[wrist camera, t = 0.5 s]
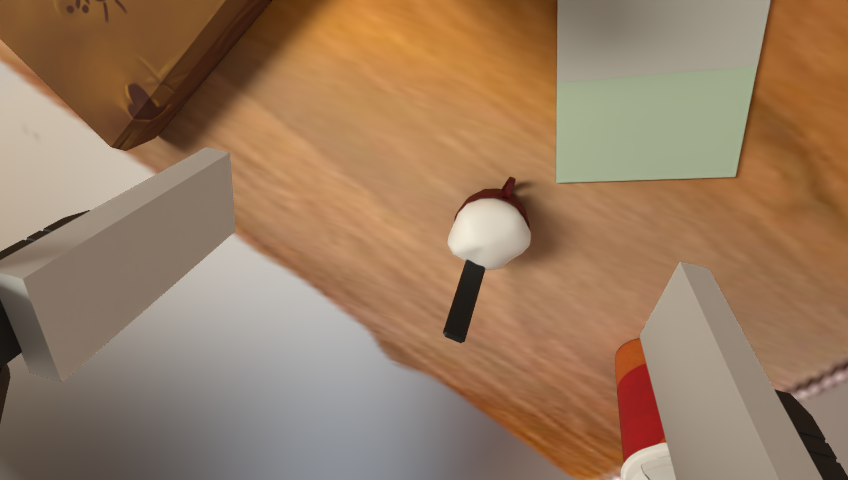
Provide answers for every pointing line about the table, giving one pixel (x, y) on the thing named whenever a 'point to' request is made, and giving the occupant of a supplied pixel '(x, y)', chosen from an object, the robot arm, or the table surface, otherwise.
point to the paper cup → (640, 418)
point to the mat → (654, 87)
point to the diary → (125, 55)
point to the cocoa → (484, 247)
